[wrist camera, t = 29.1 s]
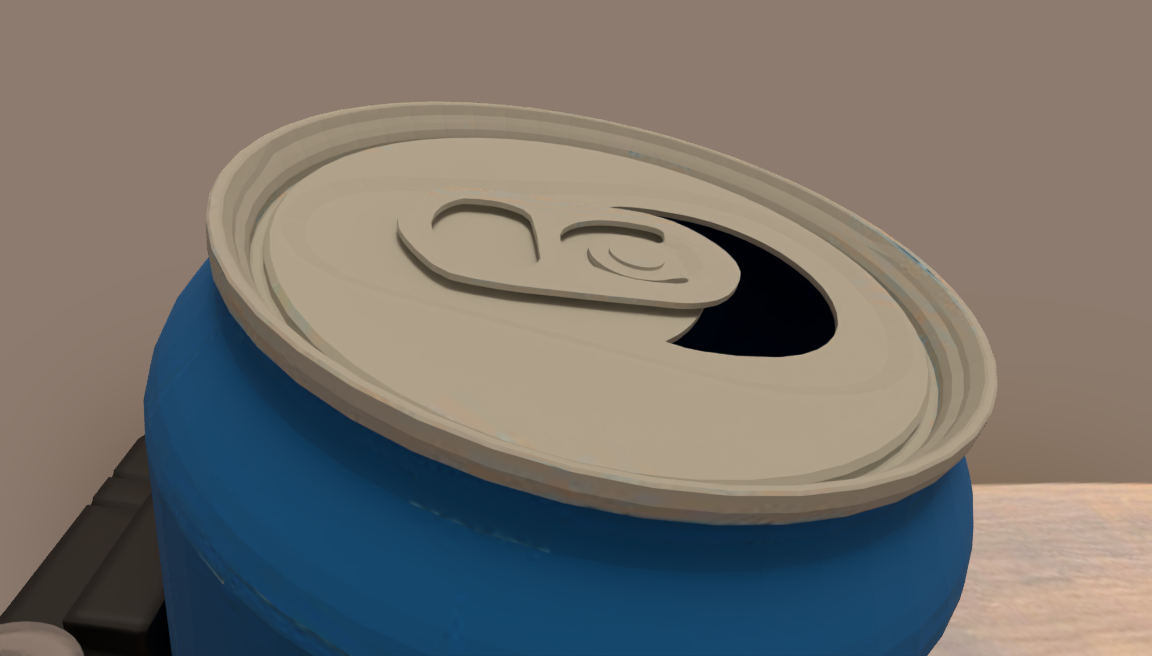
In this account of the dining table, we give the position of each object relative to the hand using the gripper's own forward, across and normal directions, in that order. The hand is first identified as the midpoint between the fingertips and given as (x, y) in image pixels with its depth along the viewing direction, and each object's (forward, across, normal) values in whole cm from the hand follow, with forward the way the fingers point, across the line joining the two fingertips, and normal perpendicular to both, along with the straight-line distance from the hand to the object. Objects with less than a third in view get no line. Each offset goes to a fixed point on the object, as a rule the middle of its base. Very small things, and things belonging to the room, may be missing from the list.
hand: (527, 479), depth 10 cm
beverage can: (-2, 0, -7) cm, 8 cm away
